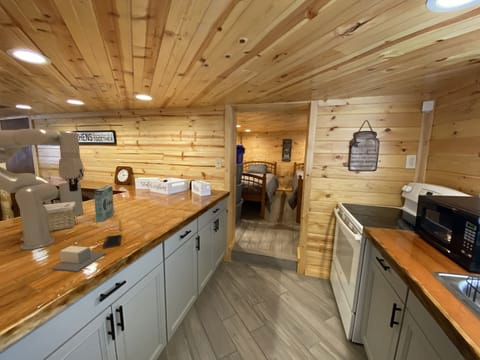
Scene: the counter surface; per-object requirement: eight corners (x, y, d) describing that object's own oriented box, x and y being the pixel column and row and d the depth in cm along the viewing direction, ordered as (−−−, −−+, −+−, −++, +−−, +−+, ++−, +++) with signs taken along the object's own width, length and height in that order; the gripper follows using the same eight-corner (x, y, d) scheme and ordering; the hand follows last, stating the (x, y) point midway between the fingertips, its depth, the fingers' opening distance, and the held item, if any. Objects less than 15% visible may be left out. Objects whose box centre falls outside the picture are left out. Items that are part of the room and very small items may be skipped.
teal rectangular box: (107, 214, 157) (105, 186, 154) (114, 213, 158) (112, 185, 155) (95, 222, 138) (93, 190, 135) (103, 221, 139) (101, 190, 136)
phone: (102, 247, 100) (106, 236, 113) (102, 249, 100) (106, 238, 113) (120, 244, 104) (122, 234, 117) (120, 246, 104) (122, 236, 117)
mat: (52, 269, 82) (51, 268, 82) (84, 252, 97) (84, 250, 97) (77, 272, 81) (77, 270, 81) (106, 253, 95) (106, 252, 95)
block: (59, 251, 86) (79, 252, 85) (70, 245, 91) (89, 247, 90) (61, 261, 87) (80, 263, 86) (71, 255, 92) (90, 257, 91)
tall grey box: (84, 212, 161) (81, 182, 158) (81, 216, 150) (78, 184, 147) (64, 214, 155) (61, 183, 151) (60, 218, 144) (56, 185, 141)
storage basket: (21, 236, 113) (18, 212, 111) (30, 227, 127) (27, 205, 125) (75, 228, 127) (72, 206, 125) (78, 221, 140) (76, 201, 138)
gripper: (49, 155, 96) (53, 191, 99) (76, 156, 95) (80, 193, 97) (64, 155, 104) (68, 189, 106) (90, 156, 102) (93, 190, 105)
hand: (73, 191), depth 102 cm, fingers closed
